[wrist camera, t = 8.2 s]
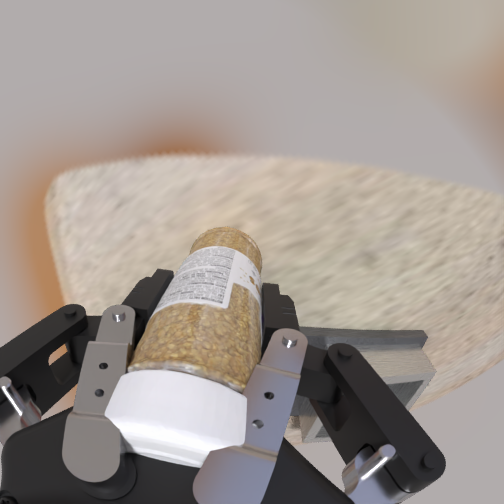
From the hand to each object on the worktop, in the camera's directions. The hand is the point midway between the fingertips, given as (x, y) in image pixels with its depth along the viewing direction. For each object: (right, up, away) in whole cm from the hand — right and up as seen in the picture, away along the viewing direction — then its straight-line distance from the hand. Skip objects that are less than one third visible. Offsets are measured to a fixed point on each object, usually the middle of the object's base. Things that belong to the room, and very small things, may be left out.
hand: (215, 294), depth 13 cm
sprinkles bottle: (0, +2, +4) cm, 4 cm away
